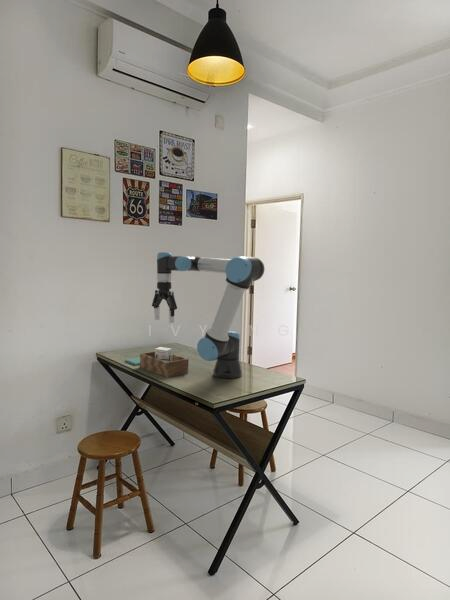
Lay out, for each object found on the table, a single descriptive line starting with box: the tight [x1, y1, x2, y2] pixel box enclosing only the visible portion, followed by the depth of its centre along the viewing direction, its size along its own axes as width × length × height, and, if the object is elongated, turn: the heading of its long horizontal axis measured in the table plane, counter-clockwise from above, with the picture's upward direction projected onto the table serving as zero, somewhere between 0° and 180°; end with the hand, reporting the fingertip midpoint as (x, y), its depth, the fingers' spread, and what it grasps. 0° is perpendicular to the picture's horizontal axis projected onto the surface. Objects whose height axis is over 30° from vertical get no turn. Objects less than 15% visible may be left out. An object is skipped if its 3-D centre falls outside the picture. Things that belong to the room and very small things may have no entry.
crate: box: [139, 351, 189, 378], centre depth 225 cm, size 26×14×8 cm, turn 43°
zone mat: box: [124, 356, 140, 366], centre depth 241 cm, size 12×12×1 cm
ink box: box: [154, 346, 173, 362], centre depth 225 cm, size 9×5×12 cm, turn 62°
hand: (164, 321), depth 224 cm, fingers open, 13 cm apart
